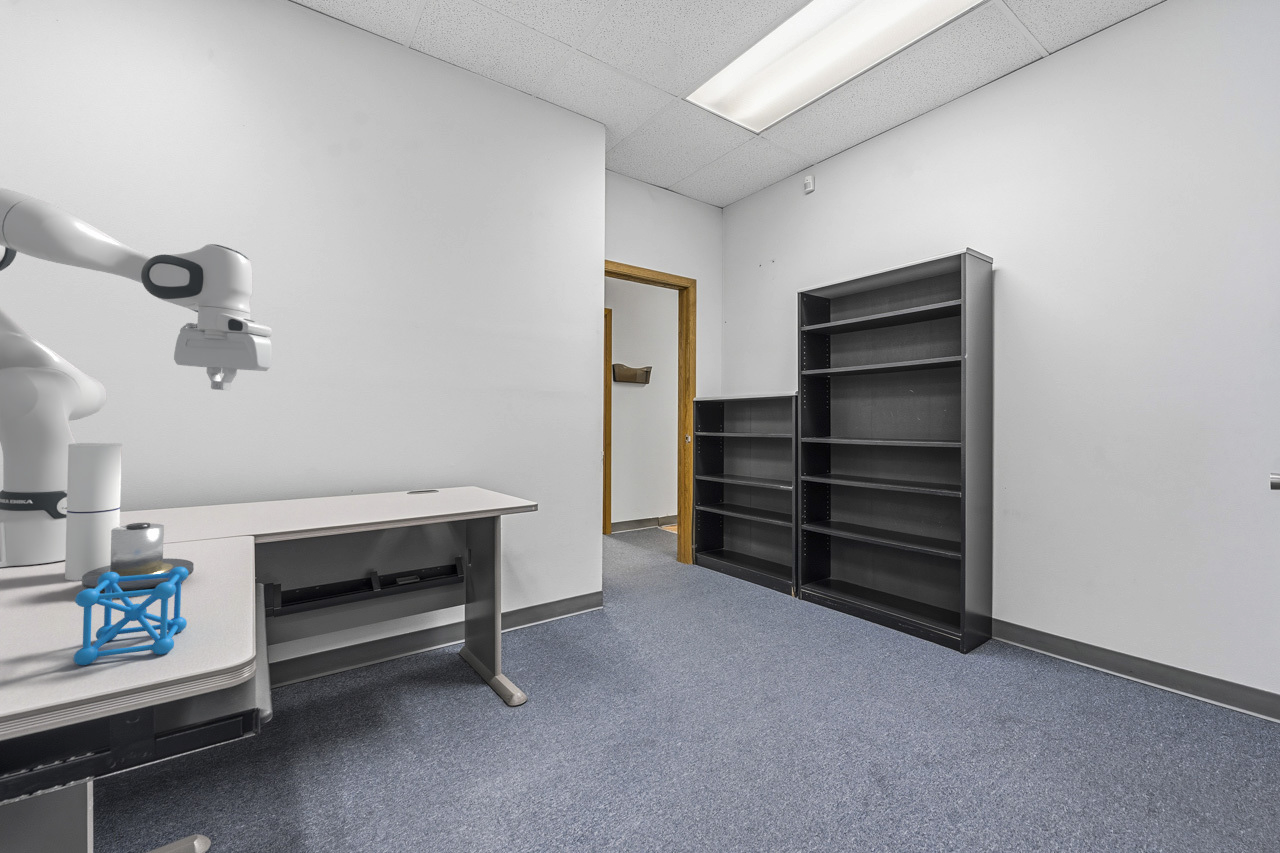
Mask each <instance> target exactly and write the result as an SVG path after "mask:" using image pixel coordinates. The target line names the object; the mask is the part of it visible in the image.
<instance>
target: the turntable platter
mask: <svg viewBox="0 0 1280 853" xmlns="http://www.w3.org/2000/svg"><path fill="white" fill-rule="evenodd" d="M175 567H185V568H186V569H187V570H188V576H190V575H191V574H192V573H193V572H194V567H195V566H194V562H193V561H191V560H187V559H181V558H163V569H162V570H160V571H158V572H155V573H151V574H160V573H169V572H170V571H171V570H172V569H173V568H175ZM106 572H110V565H109V566H104V567H101V568H97V569H94V570H92V571H89V572H87V573H86V574H84V575H83V576H82V580H81V586H82V587H83V588H85V589H94V588H96V587H97V586H98V583H97V581H98V578H99V577H100V576H101V575H102V574H104V573H106ZM168 580H169V578H160V579H148V580H136V581H124V582H119V583H118V584H117V585H118V586H119V587H120V589H121V590H124V589H134V588H142V587H149V586H154V585H159V584H161V583H164V582H167V581H168ZM102 590H105V588H103V589H102ZM102 590H101V591H102Z"/></svg>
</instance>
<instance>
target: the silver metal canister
mask: <svg viewBox="0 0 1280 853" xmlns="http://www.w3.org/2000/svg"><path fill="white" fill-rule="evenodd" d="M164 530H165V525H164V524H161V523H150V522H133V523H129V524H126V525H120V527H116V528H113V529H112V530H111V562H110V572H115V573H117V574H118V575H119V576H120V577H122V576H135V575H147V574H151V573H155V572H158V571H160V570H162V569H163V559H164V535H165V533H164Z"/></svg>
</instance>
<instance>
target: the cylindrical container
mask: <svg viewBox="0 0 1280 853" xmlns="http://www.w3.org/2000/svg"><path fill="white" fill-rule="evenodd" d="M122 446H123V443H122V444H121V443H115V442H113V443H112V442H78V443H77V442H76V443H75V444H68V478H67V518H66V558H65V560H64V561H65V562H64V569H65V570H64V579H65V580H67V581H76V582H77V581H78V580H79V581H82V576H83V575H84V574H86V573H87V572H89V571H92V570H94V569H97V568H101V567H104V566H109V565H110V562H111V530H112V529H113V528H116V527H120V526H121V524H120V523H121V522H120V521H121V492H122V488H121V486H122V485H121V484H122V450H123V449H122V448H123V447H122Z"/></svg>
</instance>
